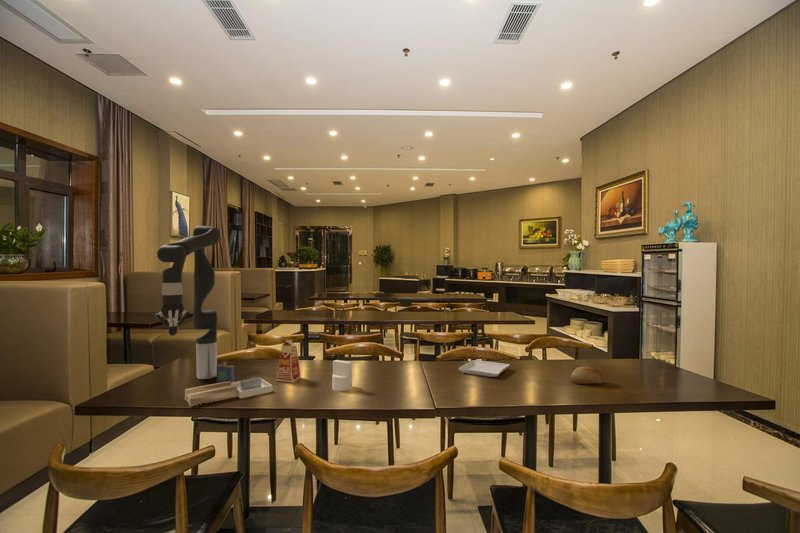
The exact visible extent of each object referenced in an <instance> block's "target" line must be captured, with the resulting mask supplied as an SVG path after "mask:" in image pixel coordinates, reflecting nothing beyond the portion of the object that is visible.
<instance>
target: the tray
mask: <svg viewBox="0 0 800 533" xmlns="http://www.w3.org/2000/svg"><path fill="white" fill-rule="evenodd" d="M231 386H237V397H238V398H239V399H245V398H249V397H253V396H259V395H263V394H269V393H271V392H272V393H273V391H274V390H273V387H274V386H273V385H272V384H271V383H269V382H267V380H265V379H263V378H261V387H260V388H255V389H250V390H245V391H242V390H241V380H238V381H234V382H232V383H231Z"/></svg>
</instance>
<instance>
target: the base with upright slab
mask: <svg viewBox="0 0 800 533" xmlns="http://www.w3.org/2000/svg"><path fill="white" fill-rule="evenodd" d="M352 372H353V362H352V361H348V360H347V361H346V360H342V359H341V360H340V359H335V360H332V383H331V384H332V388H331V389H332V390H333V391H336V392H345V391H346V390H347V391H349V390H352V389H353V373H352Z"/></svg>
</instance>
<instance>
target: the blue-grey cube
mask: <svg viewBox="0 0 800 533" xmlns="http://www.w3.org/2000/svg"><path fill="white" fill-rule="evenodd" d="M249 379H251V380H252V381H253V389H255V388H260V387H261V379H262V378H261V377H260V376H257V377H250V378H249Z"/></svg>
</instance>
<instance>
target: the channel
mask: <svg viewBox="0 0 800 533" xmlns="http://www.w3.org/2000/svg"><path fill="white" fill-rule="evenodd" d="M237 397H238V396H237V386H231V382H230V381H227V382H222V383H212V384H206V385H201V386H195V387H189V388H184V401H185V400H186V401H187V402H188V403H189V404H188V403H187V402H186V401H185V402H186V403H187V404H188V406H189V407H194V405H195V406H199V405H198V404H200V405H203V404H202V403H205V404H208V403H209V402H210V403H215V402H218V401H219V402H220V401H222V400H223V401H225V400H228V399H234V398H237ZM214 401H215V402H214ZM210 403H209V404H210Z"/></svg>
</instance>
